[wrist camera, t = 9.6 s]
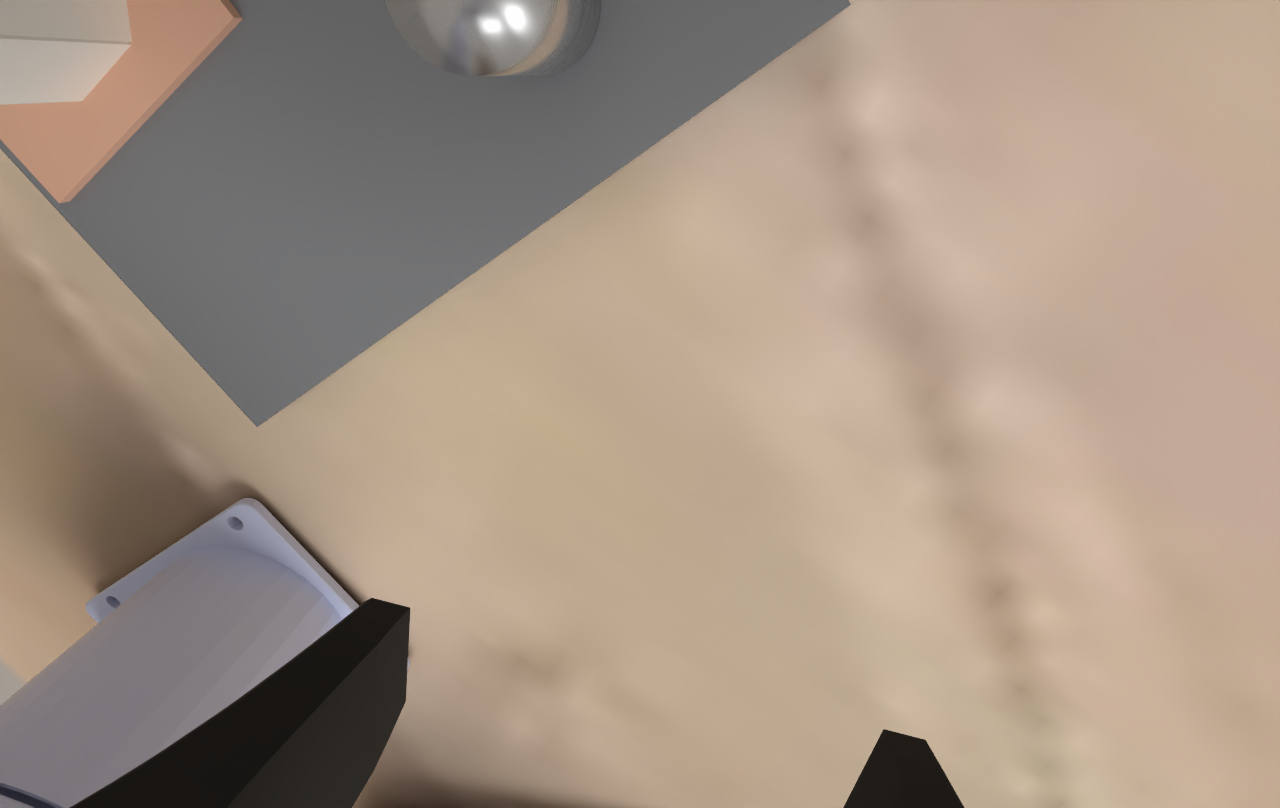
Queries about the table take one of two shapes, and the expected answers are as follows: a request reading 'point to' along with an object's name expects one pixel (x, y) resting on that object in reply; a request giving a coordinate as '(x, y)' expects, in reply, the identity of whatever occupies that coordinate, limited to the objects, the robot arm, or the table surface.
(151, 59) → the terracotta pad
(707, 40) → the base board
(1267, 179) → the table surface
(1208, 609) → the table surface
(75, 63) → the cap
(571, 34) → the metal post
